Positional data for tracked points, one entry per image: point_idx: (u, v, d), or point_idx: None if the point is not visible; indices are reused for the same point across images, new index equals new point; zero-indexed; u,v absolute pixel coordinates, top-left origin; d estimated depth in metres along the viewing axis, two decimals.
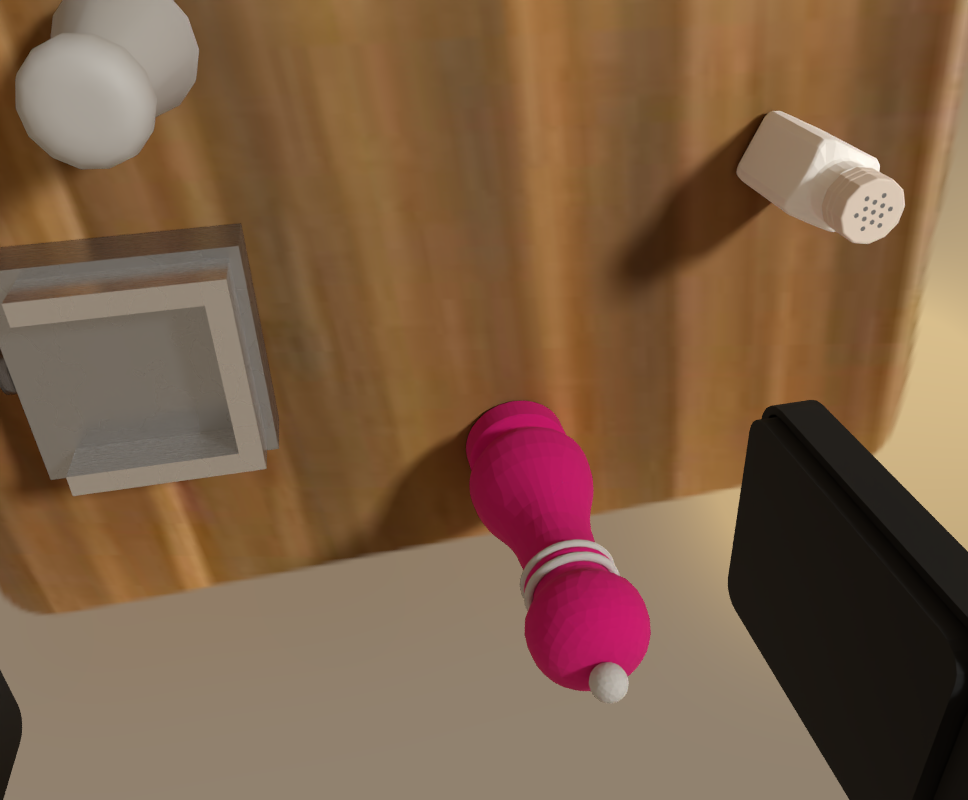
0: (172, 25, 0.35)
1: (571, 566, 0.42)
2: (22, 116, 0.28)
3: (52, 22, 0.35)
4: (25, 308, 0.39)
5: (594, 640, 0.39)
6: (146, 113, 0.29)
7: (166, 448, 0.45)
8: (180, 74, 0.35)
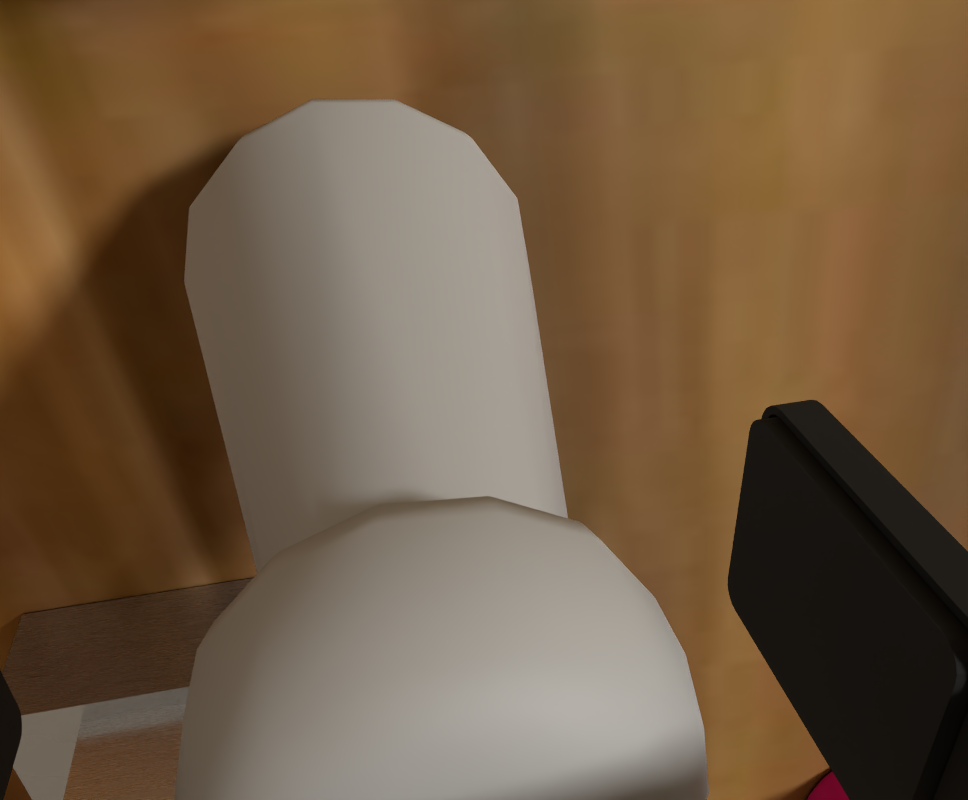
0: (516, 243, 0.13)
1: None
2: None
3: (197, 242, 0.13)
4: None
5: None
6: None
7: None
8: None
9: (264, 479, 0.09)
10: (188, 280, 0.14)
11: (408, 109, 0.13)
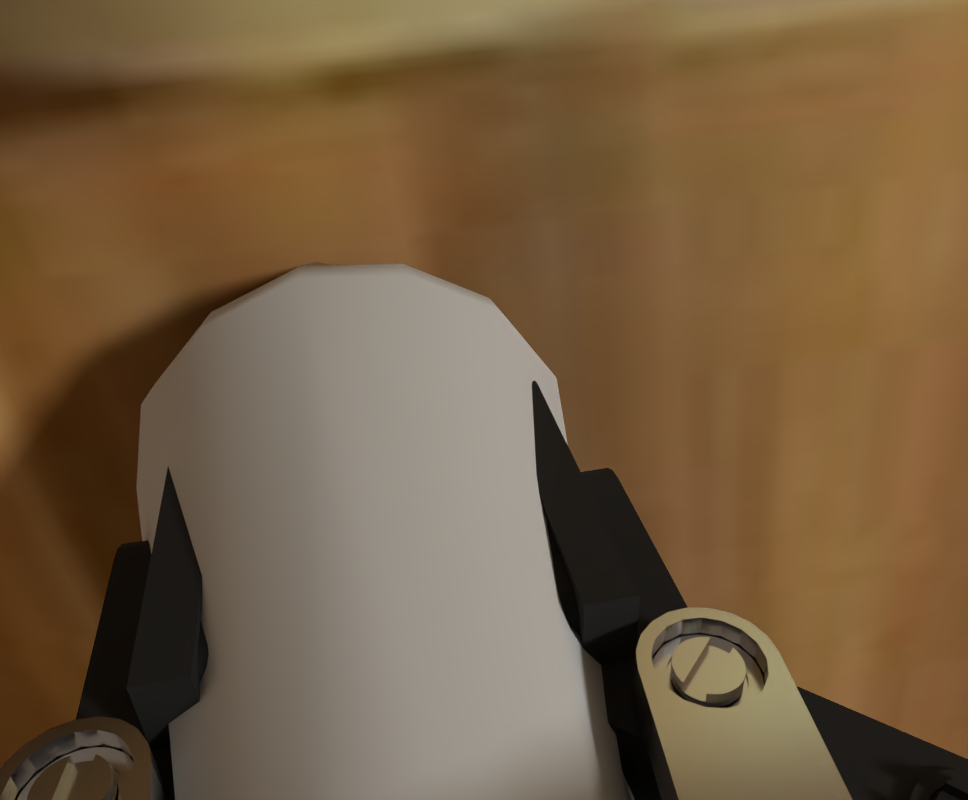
0: None
1: None
2: None
3: (147, 465, 0.10)
4: None
5: None
6: None
7: None
8: None
9: None
10: (140, 495, 0.11)
11: (421, 281, 0.11)
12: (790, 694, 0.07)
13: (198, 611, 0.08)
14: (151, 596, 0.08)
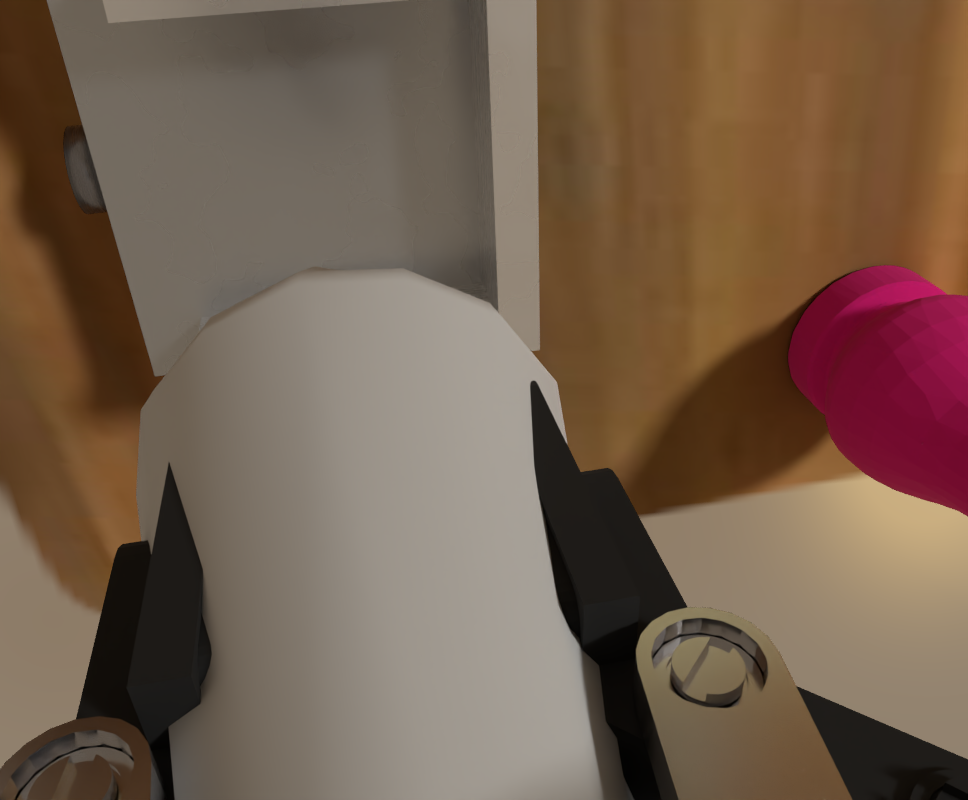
0: None
1: None
2: None
3: (147, 471, 0.10)
4: None
5: None
6: None
7: None
8: None
9: None
10: (139, 501, 0.11)
11: (421, 286, 0.10)
12: (790, 694, 0.07)
13: (198, 611, 0.08)
14: (151, 596, 0.08)
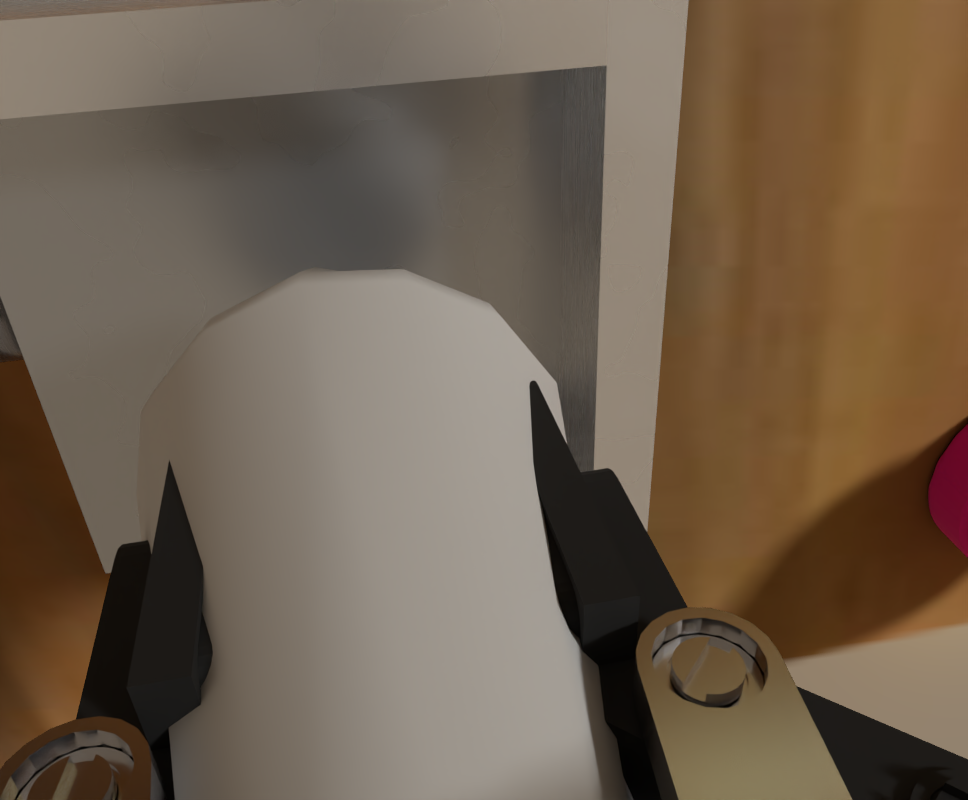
0: None
1: None
2: None
3: (147, 472, 0.10)
4: (47, 46, 0.11)
5: None
6: None
7: None
8: None
9: None
10: (140, 502, 0.11)
11: (421, 287, 0.10)
12: (790, 694, 0.07)
13: (198, 611, 0.08)
14: (151, 596, 0.08)
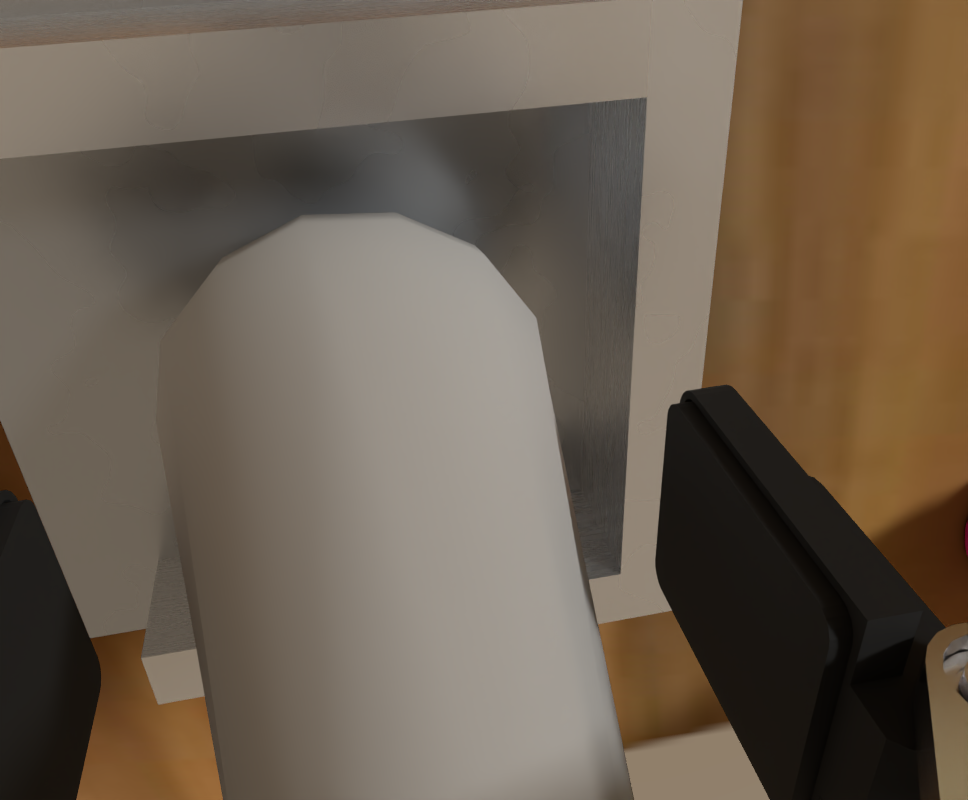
0: (540, 381, 0.11)
1: None
2: None
3: (168, 388, 0.11)
4: (12, 81, 0.10)
5: None
6: None
7: None
8: None
9: (244, 754, 0.07)
10: (160, 423, 0.12)
11: (412, 226, 0.12)
12: None
13: None
14: None
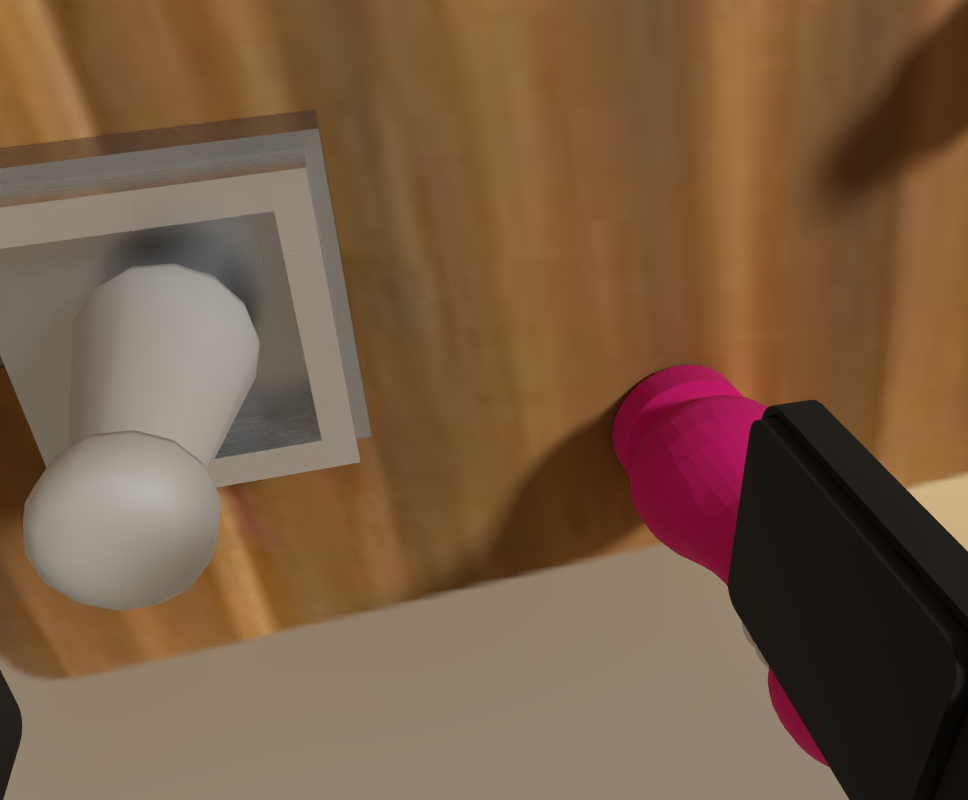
0: (228, 333, 0.27)
1: None
2: (34, 564, 0.20)
3: (72, 340, 0.26)
4: (6, 219, 0.25)
5: None
6: (208, 539, 0.20)
7: None
8: (240, 394, 0.27)
9: (74, 436, 0.22)
10: None
11: (178, 269, 0.27)
12: None
13: None
14: None
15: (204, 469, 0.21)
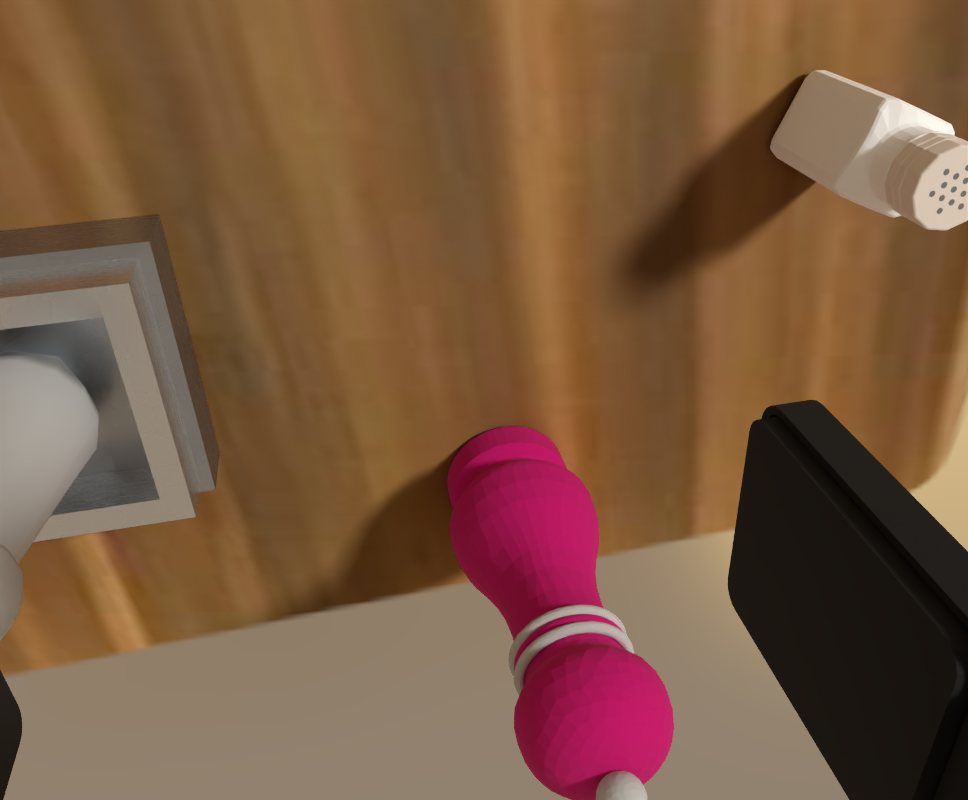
0: (61, 420, 0.32)
1: (572, 641, 0.34)
2: None
3: None
4: None
5: (601, 744, 0.30)
6: (4, 613, 0.25)
7: (72, 493, 0.37)
8: (71, 471, 0.32)
9: None
10: None
11: (22, 362, 0.32)
12: None
13: None
14: None
15: (5, 555, 0.26)
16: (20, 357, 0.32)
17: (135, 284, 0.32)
